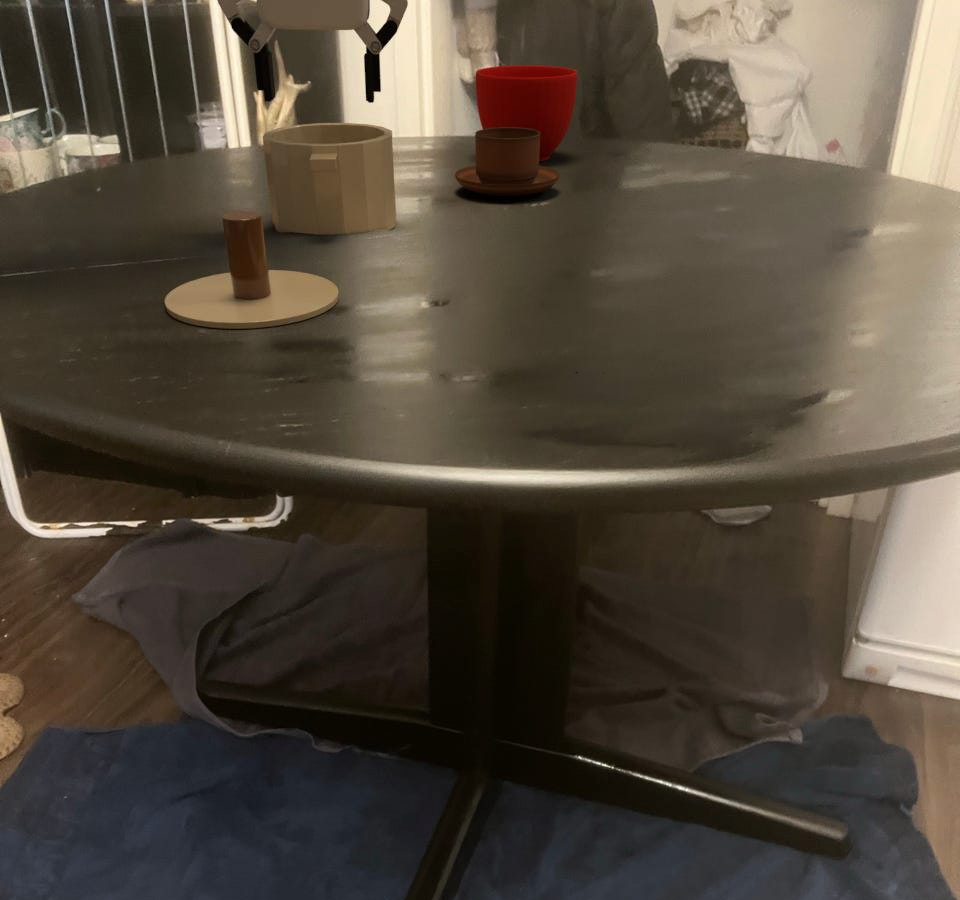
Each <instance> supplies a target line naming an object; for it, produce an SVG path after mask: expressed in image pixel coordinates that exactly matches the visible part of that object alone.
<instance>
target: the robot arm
mask: <svg viewBox="0 0 960 900" xmlns="http://www.w3.org/2000/svg"><path fill="white" fill-rule="evenodd" d="M380 1H381V2H383V3H384V4H386V5H388V7H389V13H388V16H387V19H386V20H385V23H384V24H383V25H382V26H381V28H379V30H378V31H377V32H376V31H375V30H374V29H373V27H372V26H371V25H370V23H369V22H368V21H369V18H370V12H371V9H370V8H371V1H370V0H256V8H257V13H258V17H259V20H260V21H261V22H260V23H259V24H258V26H257V28H256V29H254V27H252V26H251V24H250V23H249V22H248V21H247V20H246V19H245V18H244V17H243V15H242V13H241V10H240V8H239V3H240V2H242V0H217V3H218V5H219V8H220V9H221V10H222V13H223V15H224V16H225V18H226V20H227V21H228V23H229V25H230V28H231V29H232V31H233V32H234V33H235V34H236V35H237V36H238V37H239V39H241V40H242V42H243V43H244V44H245V45H246V46H247V47H248V48H249V50H250V51H251V52H253V61H254V62H253V63H254V71H255V72H254V73H255V80H256V81H255V82H256V90H257V91H259V92H260V91H261V92H262V91H263V95H264V96H263V97H264V102H271V101H273V100H275V98H276V85H275V84H276V83H275V75H274V64H273V54H272V51H270V49H269V41H270V39H271V38H272V37H273V34H274V33H275V31H276V30H296V31H297V30H298V31H299V30H300V31H301V30H303V31H354V32H355V33H356V35H357V36H358V37H359V38H360V40H361V41H362V43H364V45H365V53H364V55H363V64H364V65H363V66H364V86H365V102H368V103H369V104H373V103H375V93H381V92H382V81H381V57H380V55H381V52H382V51H383V50H384V48H385V47H386V46H387V45H388V44H389V42H390V41H391V40H392V39H393V37H394V36H395V35H396V34H397V32H398V30H399V28H400V25H401V22H402V20H403V18H404V15H405V13H406V11H407V8H408V5H409V1H408V0H380Z"/></svg>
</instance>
